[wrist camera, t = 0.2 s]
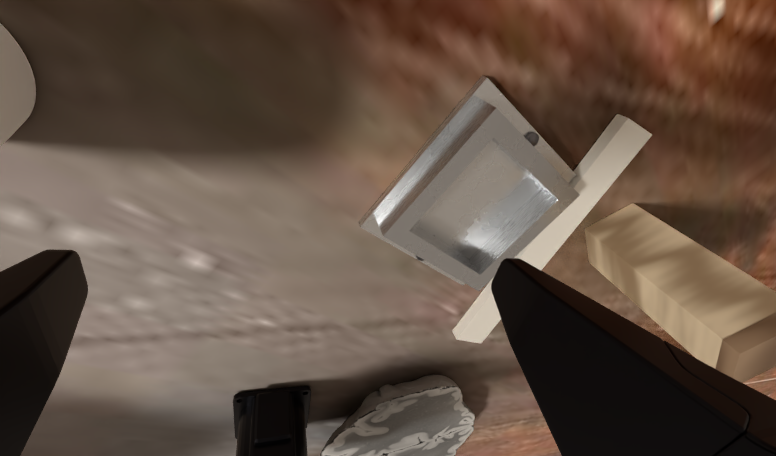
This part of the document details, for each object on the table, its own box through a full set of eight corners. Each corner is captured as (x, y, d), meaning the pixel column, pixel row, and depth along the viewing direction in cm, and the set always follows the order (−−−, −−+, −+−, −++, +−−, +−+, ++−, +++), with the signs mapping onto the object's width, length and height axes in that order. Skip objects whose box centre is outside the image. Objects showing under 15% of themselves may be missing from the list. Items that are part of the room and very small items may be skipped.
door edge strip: (476, 335, 36) (481, 343, 35) (452, 330, 34) (456, 339, 33) (641, 130, 27) (652, 134, 26) (617, 113, 25) (628, 117, 25)
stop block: (588, 263, 34) (728, 389, 23) (583, 228, 31) (740, 353, 21) (634, 239, 33) (796, 356, 23) (633, 202, 31) (817, 315, 20)
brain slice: (296, 396, 34) (297, 427, 32) (465, 348, 37) (478, 373, 34) (333, 482, 46) (337, 510, 43) (461, 441, 48) (471, 465, 46)
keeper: (460, 280, 31) (473, 302, 29) (358, 222, 25) (366, 244, 23) (571, 172, 27) (595, 187, 25) (482, 75, 22) (504, 85, 19)
